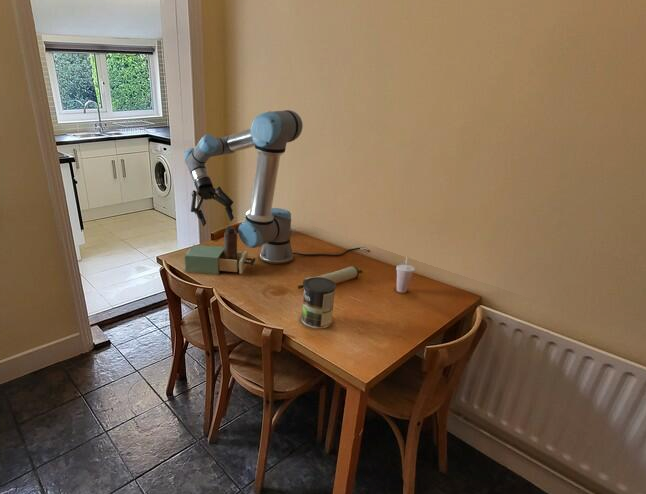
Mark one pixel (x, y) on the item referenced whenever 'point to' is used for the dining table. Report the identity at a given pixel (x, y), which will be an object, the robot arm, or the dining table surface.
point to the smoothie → (404, 276)
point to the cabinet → (203, 259)
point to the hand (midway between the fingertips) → (218, 221)
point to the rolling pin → (339, 275)
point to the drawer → (234, 262)
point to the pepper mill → (230, 243)
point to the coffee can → (318, 302)
